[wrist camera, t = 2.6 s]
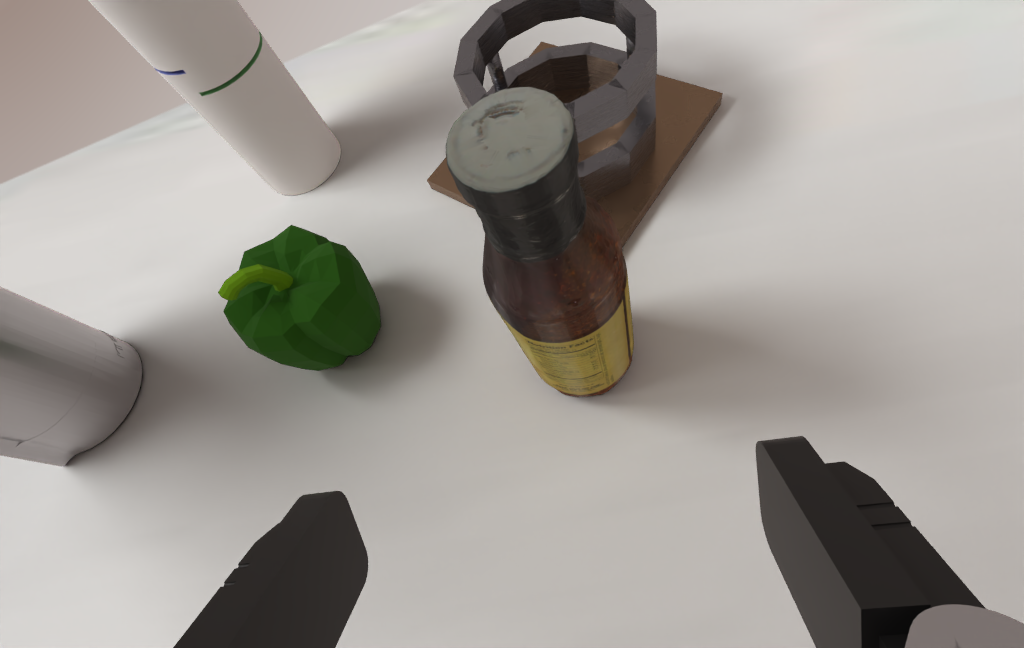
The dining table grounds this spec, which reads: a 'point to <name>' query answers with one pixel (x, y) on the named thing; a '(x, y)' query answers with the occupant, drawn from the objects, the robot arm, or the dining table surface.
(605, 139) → the collar stand
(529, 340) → the sauce bottle
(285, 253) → the bell pepper
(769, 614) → the dining table surface
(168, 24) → the cylindrical container
